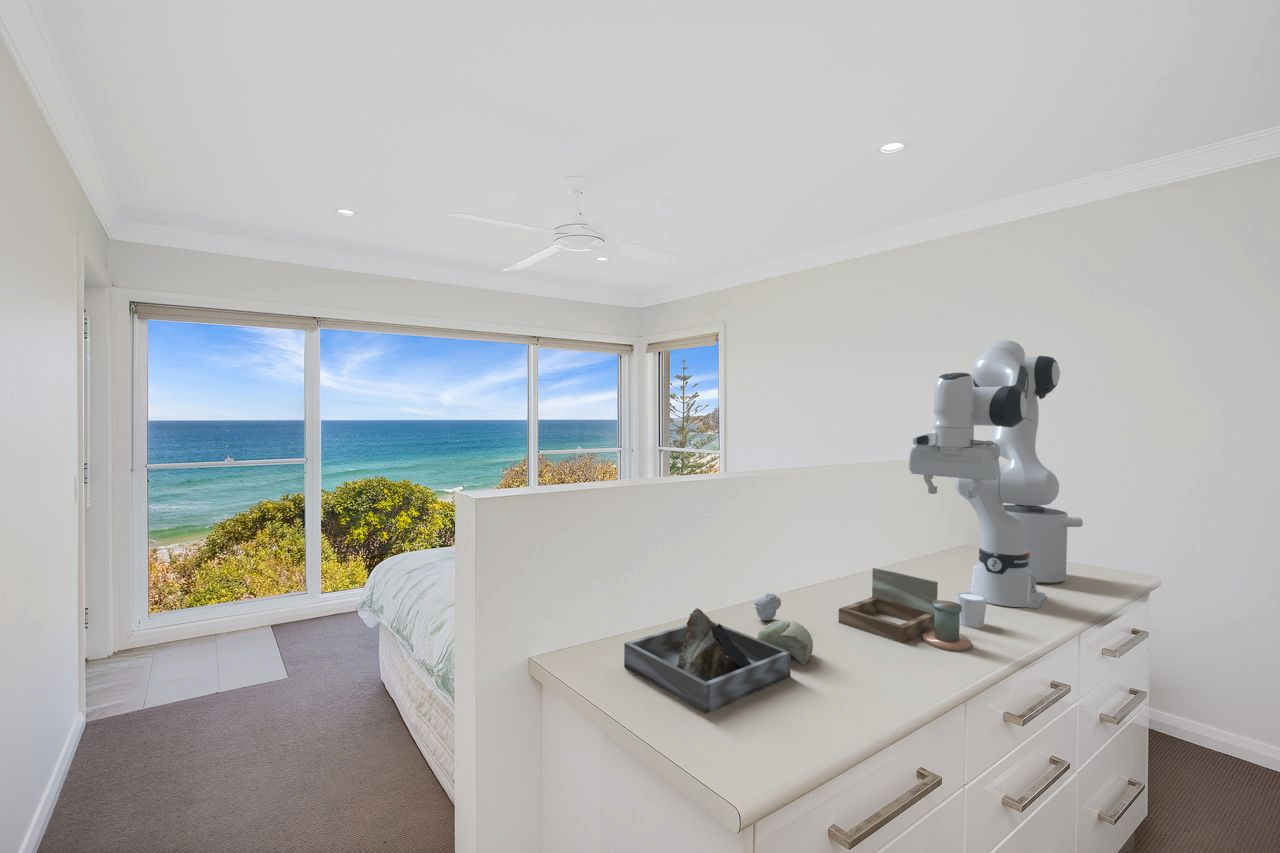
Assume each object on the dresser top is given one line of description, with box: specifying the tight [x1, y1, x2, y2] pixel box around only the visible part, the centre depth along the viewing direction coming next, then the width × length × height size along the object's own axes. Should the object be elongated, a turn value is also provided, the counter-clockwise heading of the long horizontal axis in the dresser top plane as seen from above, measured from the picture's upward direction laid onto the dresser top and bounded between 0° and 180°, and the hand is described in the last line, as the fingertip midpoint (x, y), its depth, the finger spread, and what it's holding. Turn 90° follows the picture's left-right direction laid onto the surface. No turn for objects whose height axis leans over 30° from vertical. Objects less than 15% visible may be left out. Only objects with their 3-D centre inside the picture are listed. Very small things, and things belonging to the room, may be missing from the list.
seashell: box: [757, 620, 814, 665], centre depth 130 cm, size 13×8×10 cm
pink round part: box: [922, 629, 972, 652], centre depth 138 cm, size 10×10×1 cm
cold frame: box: [838, 567, 939, 644], centre depth 149 cm, size 17×17×12 cm
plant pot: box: [933, 599, 962, 643], centre depth 138 cm, size 6×6×8 cm
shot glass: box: [955, 592, 988, 629], centre depth 151 cm, size 7×7×7 cm
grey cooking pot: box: [1003, 504, 1084, 585], centre depth 196 cm, size 22×21×23 cm
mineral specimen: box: [676, 608, 751, 682], centre depth 120 cm, size 14×15×17 cm
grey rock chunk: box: [753, 592, 782, 622], centre depth 152 cm, size 6×7×7 cm
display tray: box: [623, 620, 792, 714], centre depth 121 cm, size 24×24×5 cm
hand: (952, 495), depth 144 cm, fingers open, 8 cm apart
